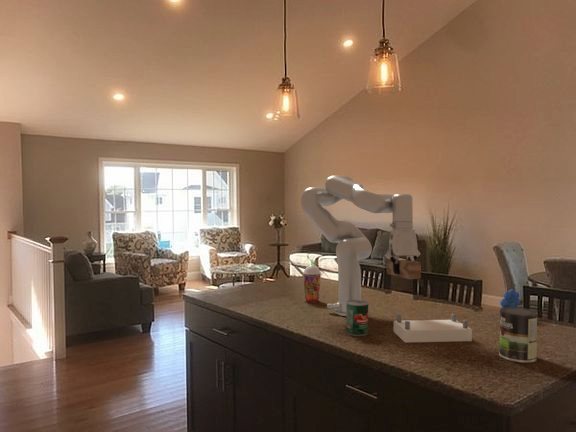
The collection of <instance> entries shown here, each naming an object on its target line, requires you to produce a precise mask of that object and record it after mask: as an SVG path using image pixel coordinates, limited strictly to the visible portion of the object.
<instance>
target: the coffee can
mask: <svg viewBox="0 0 576 432" xmlns="http://www.w3.org/2000/svg"><path fill="white" fill-rule="evenodd" d="M517 307H518V306H517ZM517 307H505V308H501V307H500V308H501V309H500V308H499V309H500V310H499V314H500V315H499V353H498V355H499V356H500V358H503V359H504V360H507V361H511V362H514V363H515V362H516V363H523V364H524V363H527V364H528V363H534V362H537V348H538V347H537V346H538V345H537V343H538V338H537V337H538V336H537V335H538V315H539V314H538V312H537V311H536V310H533V309H529V308H524V307H518V308H517Z"/></svg>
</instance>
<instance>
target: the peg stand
mask: <svg viewBox="0 0 576 432" xmlns="http://www.w3.org/2000/svg"><path fill="white" fill-rule="evenodd" d="M393 332H394V333H395V335H397V336H398V337H399V338H400V339H401V340H402V341H403V342H404V343H439V342H440V343H441V342H442V343H443V342H446V343H447V342H448V343H449V342H473V329H472V328H470V327H469V321H468V320H467V319H463V320H462V322H461V321H459V320H457V313H451V319H417V320H416V319H415V320H413V319H412V320H408V319H406V320H402V314H396V320H393Z"/></svg>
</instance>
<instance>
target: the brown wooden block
mask: <svg viewBox="0 0 576 432" xmlns="http://www.w3.org/2000/svg"><path fill="white" fill-rule="evenodd" d="M398 264H399V274H394V272H393V263H392V262H391V261H390V260H389V258H387V257H386V274H387V275H391V276H395V277H399V278H403V279H408V280H417V279H418V280H419V279H421V278H422V262H421V261H416V260H415V261H411V260H408V259H407V258H406V259H405V258H400V257H399V261H398Z"/></svg>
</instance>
